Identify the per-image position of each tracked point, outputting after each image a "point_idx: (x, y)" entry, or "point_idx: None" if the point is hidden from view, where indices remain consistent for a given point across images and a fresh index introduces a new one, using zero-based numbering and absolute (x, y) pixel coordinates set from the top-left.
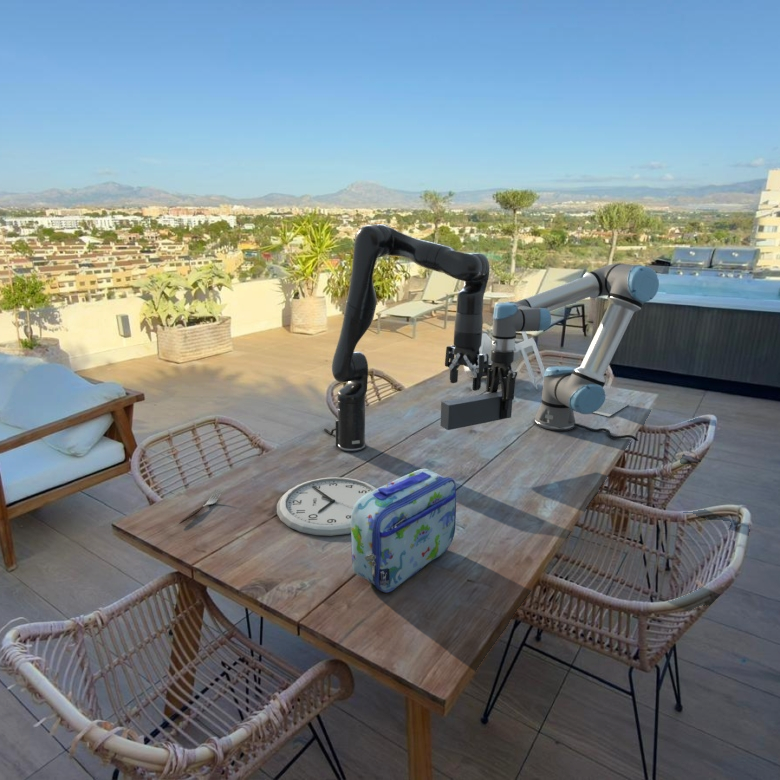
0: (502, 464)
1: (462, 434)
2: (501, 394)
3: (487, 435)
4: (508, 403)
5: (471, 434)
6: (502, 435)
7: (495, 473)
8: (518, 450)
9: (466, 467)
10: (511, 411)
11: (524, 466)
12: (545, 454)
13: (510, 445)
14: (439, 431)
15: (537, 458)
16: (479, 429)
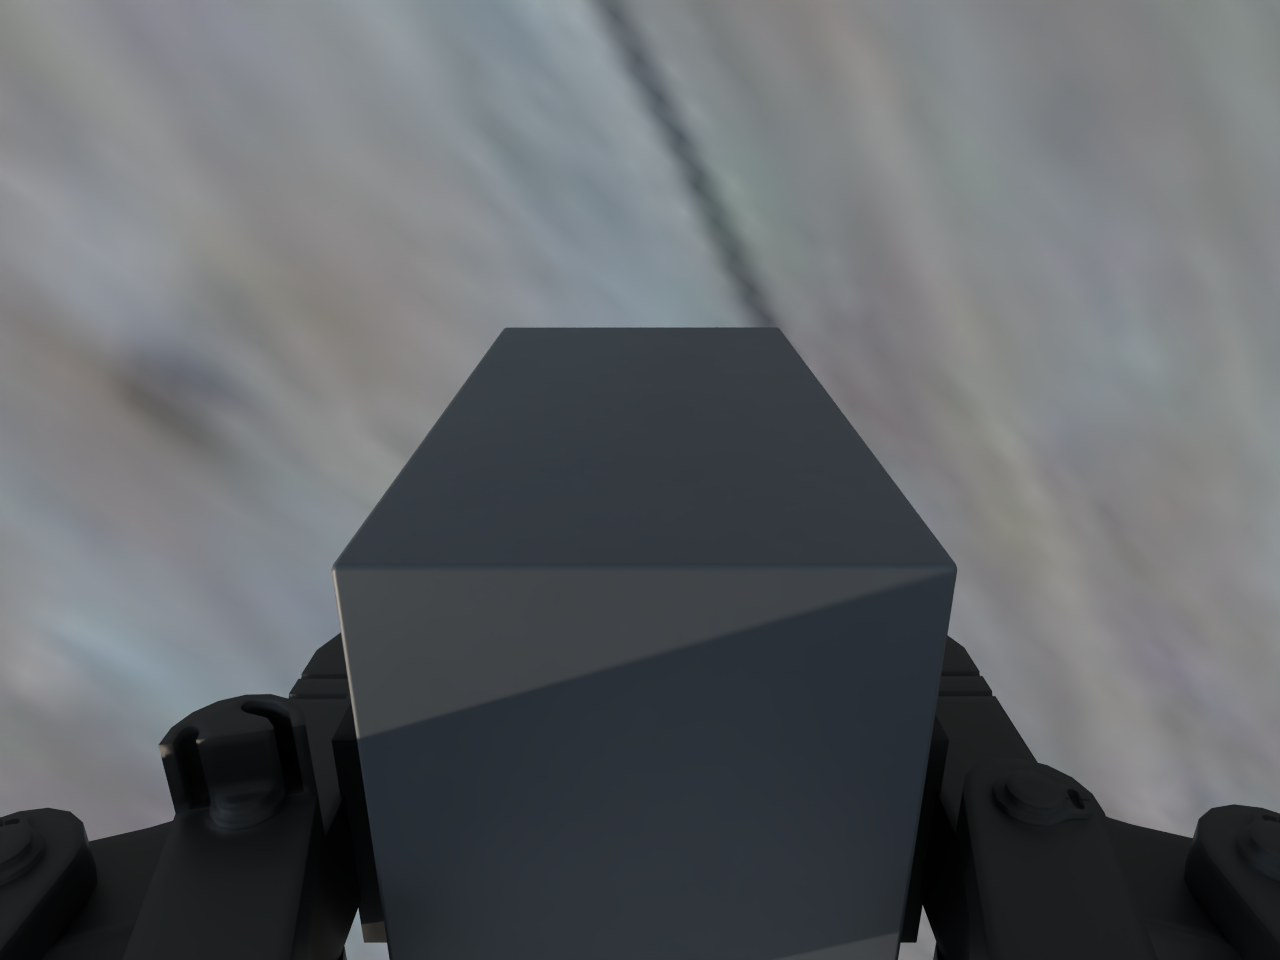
0: (1064, 637)
1: (232, 555)
2: (725, 944)
3: (352, 304)
4: (1014, 736)
5: (261, 465)
6: (419, 109)
7: (1152, 788)
8: (908, 255)
9: (924, 911)
10: (803, 364)
11: (1234, 481)
12: (1194, 4)
13: (742, 243)
14: (82, 719)
15: (1202, 202)
16: (127, 271)
